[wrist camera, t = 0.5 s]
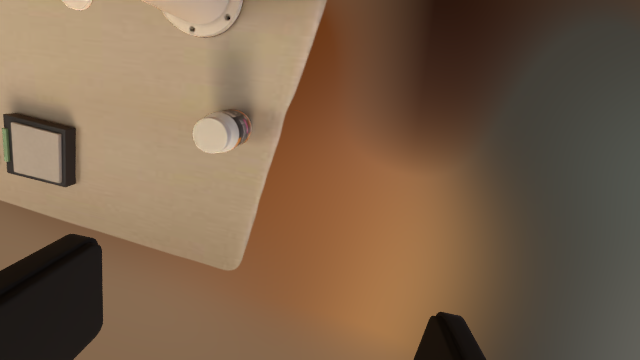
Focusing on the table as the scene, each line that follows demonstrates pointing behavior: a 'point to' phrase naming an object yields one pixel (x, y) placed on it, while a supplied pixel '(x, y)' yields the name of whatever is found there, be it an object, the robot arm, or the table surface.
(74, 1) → the chain link
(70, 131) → the scale
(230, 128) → the pill bottle
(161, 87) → the table surface
